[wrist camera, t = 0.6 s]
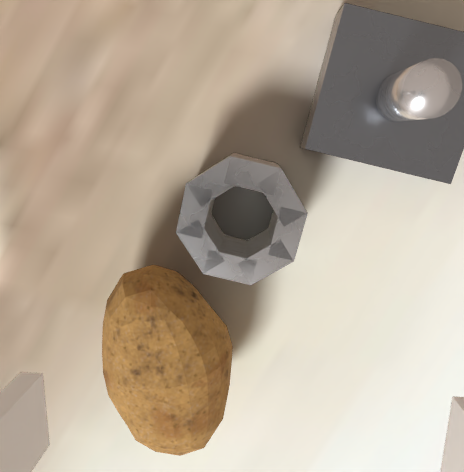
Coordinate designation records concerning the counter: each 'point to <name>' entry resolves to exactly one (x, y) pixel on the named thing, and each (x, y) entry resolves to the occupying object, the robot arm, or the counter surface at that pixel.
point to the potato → (165, 360)
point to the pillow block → (390, 94)
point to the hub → (232, 248)
